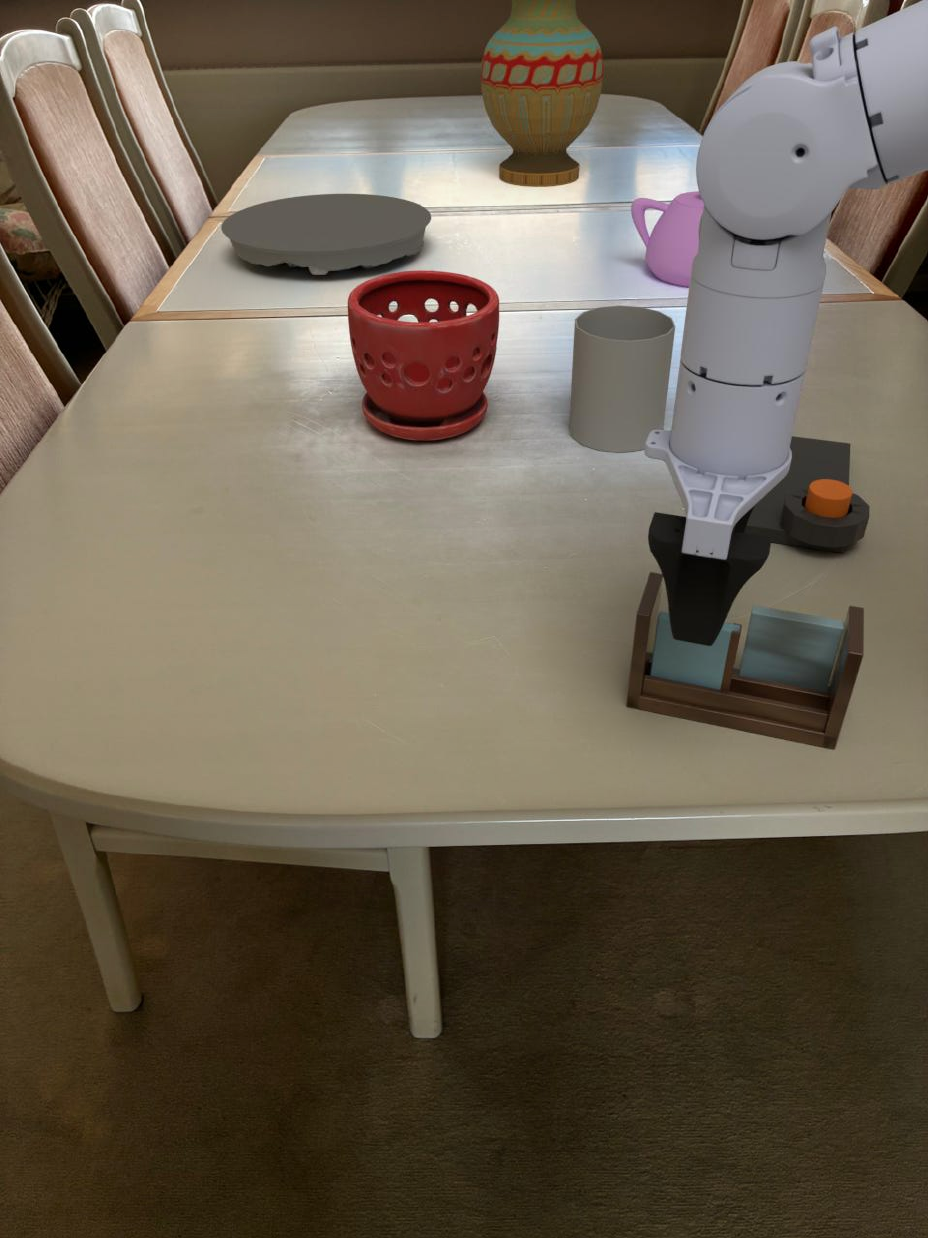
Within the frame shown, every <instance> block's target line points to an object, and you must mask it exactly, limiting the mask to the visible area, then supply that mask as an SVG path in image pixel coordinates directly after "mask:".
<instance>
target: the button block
mask: <svg viewBox="0 0 928 1238" xmlns="http://www.w3.org/2000/svg"><path fill="white" fill-rule="evenodd" d="M790 449H791V451H792V459H791V464H790V468H789V471H788V473H787V475H786V476H785V477H784V479H782V480H781V481H780V482H779V483H778V484H777V485H776V486H775V487H774V488H773V489H772V490H771V491H770V492H768V493H767V494H766V495H765V496H764V497H763V498H762V499H761V500H760V501H759V502H758V503H757V504H755V506H754V508H753V511H752V513H751V515H750V517H749V520H748V523H747V525H746V528H745V531H744V533H747V534H753V535H760V536H766V537H771V538H772V540H771V544H772V543H773V544H779V545H786V546H792V547H797V548H798V547H799V548H806V549H811V550H818V551H825V552H832V553H838V554H844V553H845V548H846V547H848V546H849V547H850V546H853V545H855V544H856V543H857V542H859V541H860V540H862V539H863V538H864V537H865V534H866V531H867V527H868V523H869V519H870V505H869V504H868V503H867V502H866V501H865V500H864V499H863V498H862V496H860V495H859V494H857V493H854V492H853V493H852V497H851V501H850V505H849V509H848V513H847V515H846V516H845V517H838V518H830V517H823V516H818V515H816V514H813V513H811V512H809V511H807V510H806V509H805V503H806V498H807V494H808V490H809V486H810V484H811V483H812V482H814V481H816V480H820V479H831V480H836V481H840V482H843V483H845V484H847V485H848V486H849V487H850V468H851V443H850V442H849V443H848V442H842V441H833V440H826V439H818V438H811V437H801V436H793V435H792V438H791V443H790Z"/></svg>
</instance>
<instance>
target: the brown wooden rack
mask: <svg viewBox="0 0 928 1238" xmlns="http://www.w3.org/2000/svg"><path fill="white" fill-rule="evenodd" d="M663 581H664V578H663V575H662V573H659V572H654V571H650V572H649V574H648V577H647V580H646V584H645V587H644V590H643V593H642V596H641V599H640V602H639V605H638V609H637V611H636V616H635V622H634V623H635V624H634V634H633V640H632V641H633V642H632V651H631V660H630V667H629V677H628V685H627V694H626V702H625V703H626V704H625V706H626V707H627V708H631V709H632V708H633V709H637V710H642V711H647V712H652V713H656V714H661V715H665V716H671V717H676V718H680V719H685V720H691V721H696V722H700V723H705V724H710V725H713V726H714V725H715V726H719V727H724V728H730V729H733V730H739V731H743V732H749V733H753V734H759V735H762V736H767V737H773V738H777V739H781V740H787V741H793V742H796V743H801V744H806V745H812V746H816V747H822V748H825V749H826V748H827V749H831V750H835V749H836V748H837V743H838V742H839V738H840V735H841V731H842V728H843V725H844V724H843V723H844V721H845V717H846V714H847V711H848V709H849V708H848V707H849V705H850V702H851V698H852V694H853V691H854V688H855V685H856V681H857V678H858V676H859V675H858V674H859V672H860V668H861V665H862V661H863V659H864V653H865V652H864V651H865V650H864V649H865V608H864V607H861V606H856V605H849V606H848V609H847V612H846V616H845V619H844V620H841V619H835V618H829V617H824V616H818V615H813V614H812V615H811V614H807V613H806V614H805V613H800V612H794V611H788V610H783V609H778V608H777V609H776V608H770V607H765V606H760V605H752V608H751V613H750V618H749V622H748V628H747V632H746V637H745V642H744V646H743V652H742V657H741V662H740V665H739V668H735V667H734V669H733V674H732V679H731V684H730V689H729V691H724V690H719V689H714V688H709V687H704V686H699V685H694V684H689V683H684V682H679V681H674V680H669V679H663V678H658V677H653V676H650V673H651V665H652V658H653V650H654V642H655V635H656V627H657V620H658V616H659V612H660V603H661V595H662V589H663Z"/></svg>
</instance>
